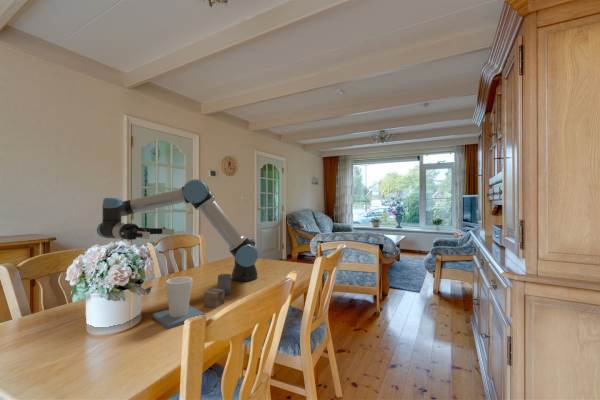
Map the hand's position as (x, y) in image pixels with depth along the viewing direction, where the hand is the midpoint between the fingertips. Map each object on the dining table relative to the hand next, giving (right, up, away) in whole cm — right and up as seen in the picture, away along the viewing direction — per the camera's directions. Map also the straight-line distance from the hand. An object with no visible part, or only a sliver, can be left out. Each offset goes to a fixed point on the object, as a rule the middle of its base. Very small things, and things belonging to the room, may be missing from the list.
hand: (162, 233), depth 121 cm
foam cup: (+15, -29, -16) cm, 36 cm away
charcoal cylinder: (+25, -31, +10) cm, 41 cm away
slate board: (+15, -30, -16) cm, 37 cm away
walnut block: (+24, -31, -3) cm, 39 cm away
